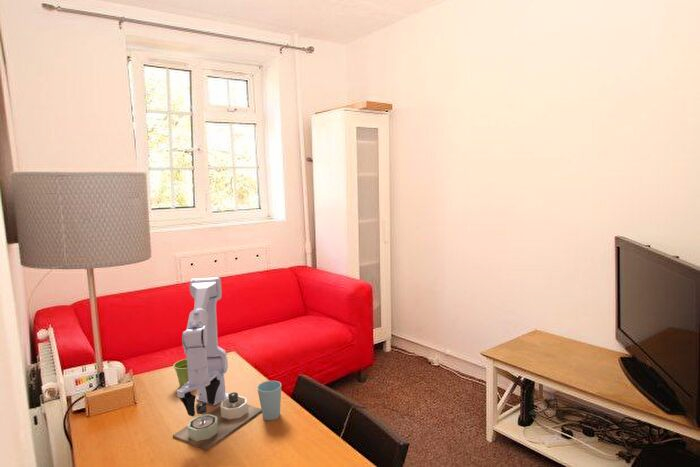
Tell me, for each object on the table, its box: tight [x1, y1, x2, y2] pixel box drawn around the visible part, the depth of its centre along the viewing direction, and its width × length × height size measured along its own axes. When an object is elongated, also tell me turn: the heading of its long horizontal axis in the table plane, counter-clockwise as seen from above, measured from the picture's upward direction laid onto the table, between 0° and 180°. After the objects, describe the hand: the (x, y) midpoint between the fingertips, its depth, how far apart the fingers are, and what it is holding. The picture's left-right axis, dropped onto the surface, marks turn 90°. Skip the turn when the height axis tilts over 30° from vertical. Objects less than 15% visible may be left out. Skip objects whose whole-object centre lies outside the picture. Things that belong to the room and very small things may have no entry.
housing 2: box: [220, 395, 248, 419], centre depth 146 cm, size 8×8×3 cm
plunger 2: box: [228, 391, 239, 408], centre depth 146 cm, size 6×6×6 cm
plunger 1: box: [193, 401, 213, 429], centre depth 135 cm, size 6×6×6 cm
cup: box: [257, 380, 282, 421], centre depth 144 cm, size 8×8×10 cm
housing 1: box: [187, 413, 218, 441], centre depth 135 cm, size 8×8×3 cm
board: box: [172, 404, 262, 452], centre depth 141 cm, size 15×24×1 cm, turn 149°
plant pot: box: [172, 358, 189, 388], centre depth 169 cm, size 9×9×9 cm
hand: (201, 409), depth 135 cm, fingers open, 7 cm apart
